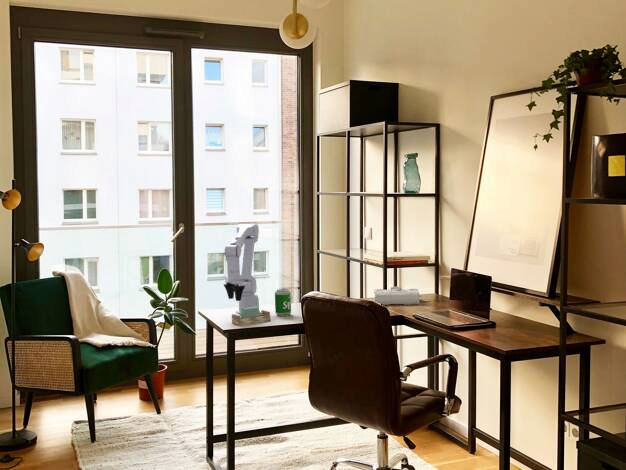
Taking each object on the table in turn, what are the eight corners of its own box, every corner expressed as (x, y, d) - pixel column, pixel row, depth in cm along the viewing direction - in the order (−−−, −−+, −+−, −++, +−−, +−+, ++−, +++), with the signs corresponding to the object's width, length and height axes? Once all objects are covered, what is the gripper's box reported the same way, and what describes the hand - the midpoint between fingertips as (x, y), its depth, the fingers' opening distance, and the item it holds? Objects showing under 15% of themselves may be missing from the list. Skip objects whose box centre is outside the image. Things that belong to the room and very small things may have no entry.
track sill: (263, 318, 331) (263, 310, 331) (270, 320, 326) (270, 311, 325) (231, 323, 322) (231, 314, 322) (238, 325, 317) (237, 316, 316)
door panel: (256, 319, 327) (256, 306, 326) (259, 320, 325) (259, 307, 324) (241, 321, 323) (240, 308, 322) (243, 322, 320) (243, 309, 320)
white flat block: (430, 305, 353) (430, 290, 353) (373, 306, 356) (373, 291, 355) (427, 299, 373) (427, 285, 372) (373, 300, 375) (373, 286, 375)
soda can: (278, 317, 334) (277, 291, 333) (273, 314, 341) (272, 289, 340) (293, 315, 337) (292, 290, 336) (288, 312, 344) (287, 288, 343)
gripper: (219, 270, 333) (220, 298, 334) (232, 273, 321) (233, 302, 322) (232, 268, 337) (233, 297, 338) (246, 271, 324) (247, 300, 326)
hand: (234, 299), depth 330 cm, fingers open, 7 cm apart
